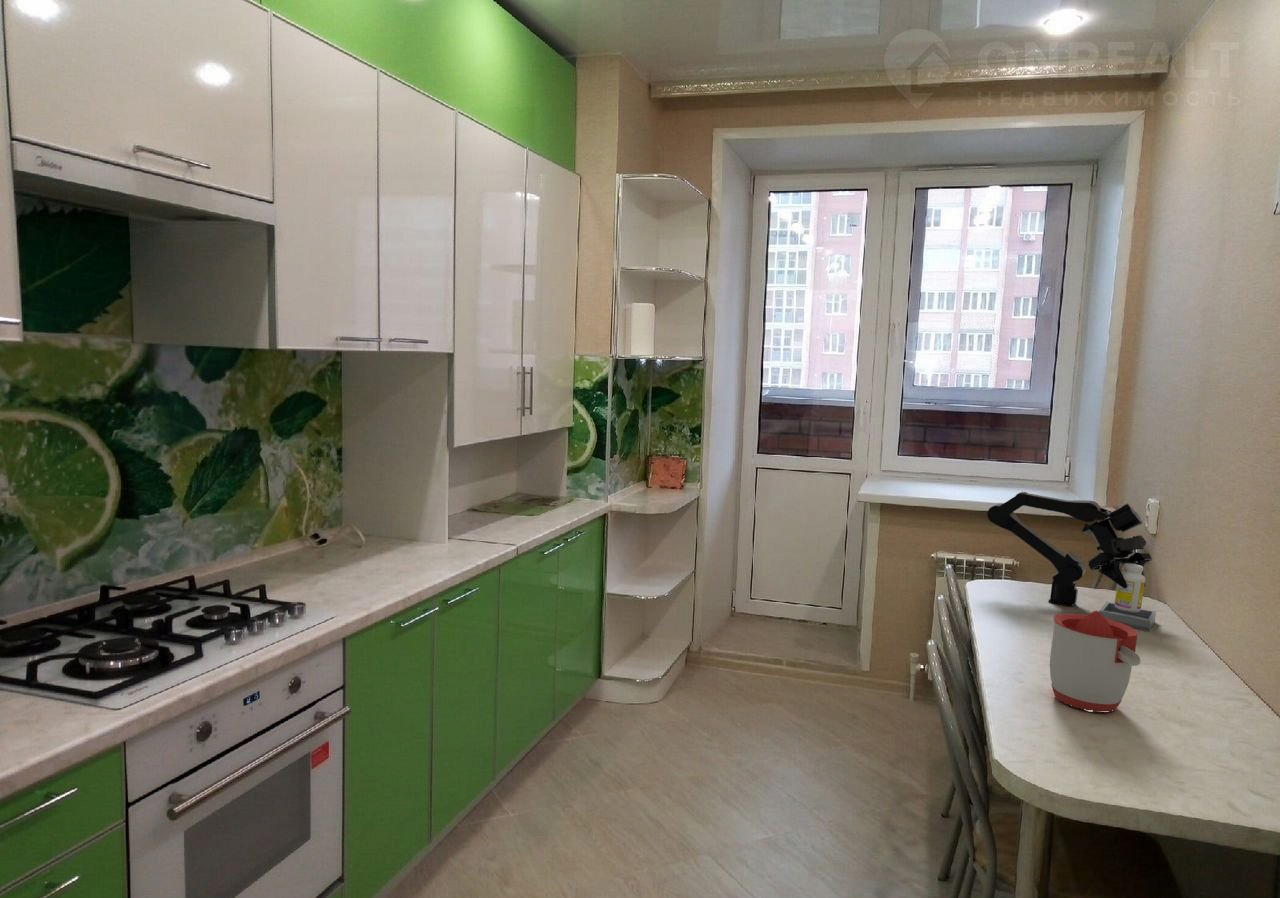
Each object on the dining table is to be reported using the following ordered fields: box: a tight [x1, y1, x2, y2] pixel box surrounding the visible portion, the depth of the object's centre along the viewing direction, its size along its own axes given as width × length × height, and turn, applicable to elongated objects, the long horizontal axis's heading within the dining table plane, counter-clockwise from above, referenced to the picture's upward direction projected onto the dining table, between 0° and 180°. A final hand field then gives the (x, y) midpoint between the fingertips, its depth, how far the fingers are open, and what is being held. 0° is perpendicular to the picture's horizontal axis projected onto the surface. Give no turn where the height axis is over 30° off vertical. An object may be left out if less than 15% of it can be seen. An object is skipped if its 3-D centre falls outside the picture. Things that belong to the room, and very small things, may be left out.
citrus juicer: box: [1049, 610, 1141, 712], centre depth 178 cm, size 16×17×20 cm
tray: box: [1098, 601, 1157, 633], centre depth 243 cm, size 13×13×3 cm
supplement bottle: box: [1113, 563, 1146, 612], centre depth 243 cm, size 7×7×13 cm
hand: (1135, 587), depth 241 cm, fingers closed on supplement bottle, 7 cm apart
